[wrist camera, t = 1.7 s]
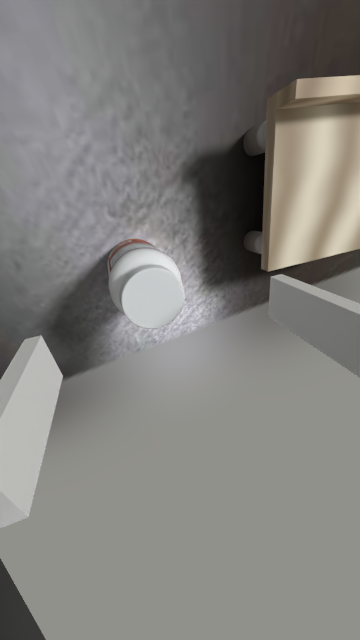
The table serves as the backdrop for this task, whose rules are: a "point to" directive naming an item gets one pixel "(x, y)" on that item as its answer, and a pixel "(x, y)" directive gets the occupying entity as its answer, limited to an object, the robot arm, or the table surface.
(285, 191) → the beige small table
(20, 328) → the table surface
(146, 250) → the pill bottle
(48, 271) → the table surface
